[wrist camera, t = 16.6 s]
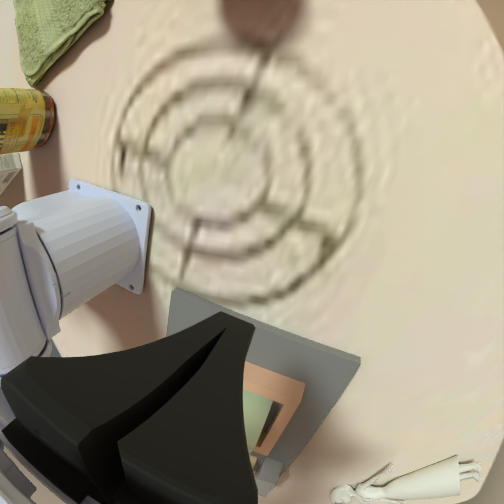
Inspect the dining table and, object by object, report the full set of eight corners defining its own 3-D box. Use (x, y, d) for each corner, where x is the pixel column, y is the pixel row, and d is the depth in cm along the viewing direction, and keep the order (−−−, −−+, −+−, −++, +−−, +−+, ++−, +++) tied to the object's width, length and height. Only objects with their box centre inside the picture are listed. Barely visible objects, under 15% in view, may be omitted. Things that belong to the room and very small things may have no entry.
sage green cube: (207, 400, 26) (178, 446, 21) (220, 366, 24) (188, 416, 19) (256, 422, 25) (235, 472, 20) (276, 392, 23) (254, 447, 18)
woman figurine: (478, 503, 18) (339, 525, 26) (476, 475, 22) (346, 499, 30) (485, 462, 16) (309, 491, 24) (480, 427, 20) (319, 459, 28)
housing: (162, 424, 32) (147, 445, 28) (176, 287, 24) (149, 309, 20) (279, 473, 29) (271, 498, 25) (360, 357, 21) (359, 392, 17)
